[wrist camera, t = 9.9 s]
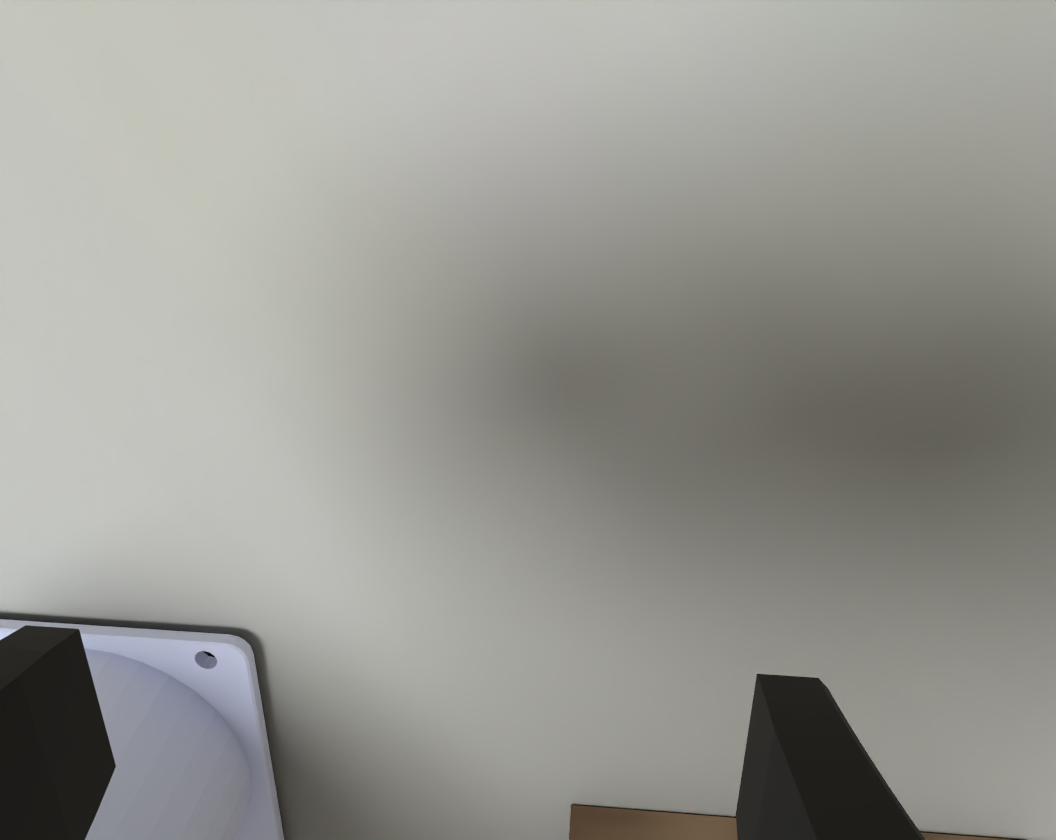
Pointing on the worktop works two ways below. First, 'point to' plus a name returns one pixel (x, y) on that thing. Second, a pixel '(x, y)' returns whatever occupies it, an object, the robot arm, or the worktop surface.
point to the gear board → (667, 826)
